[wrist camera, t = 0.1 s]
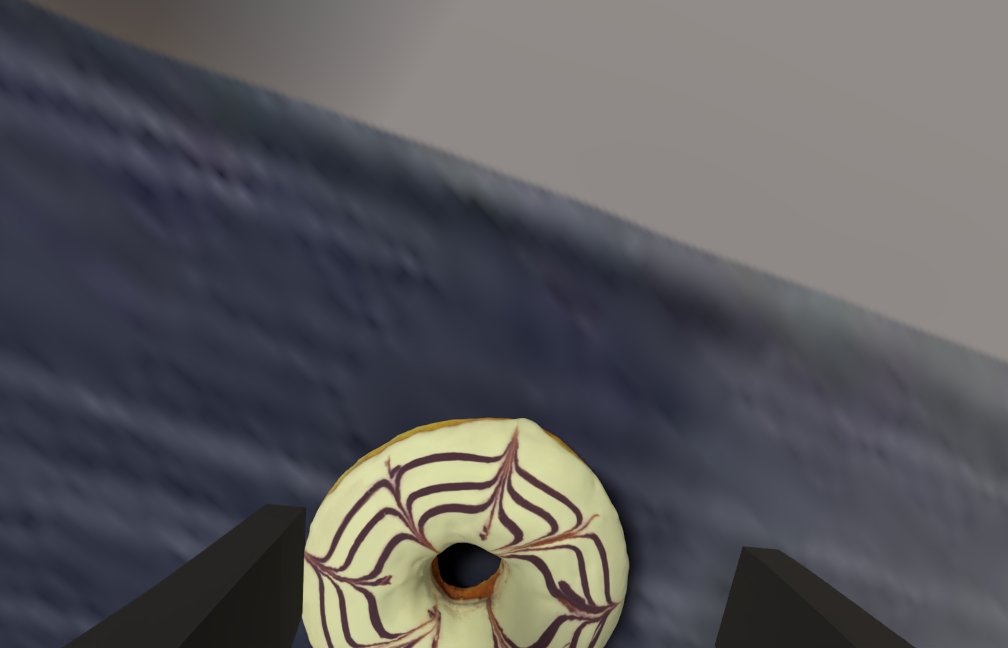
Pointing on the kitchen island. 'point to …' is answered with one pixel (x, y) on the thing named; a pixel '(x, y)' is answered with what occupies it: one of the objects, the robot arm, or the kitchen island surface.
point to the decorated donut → (471, 519)
